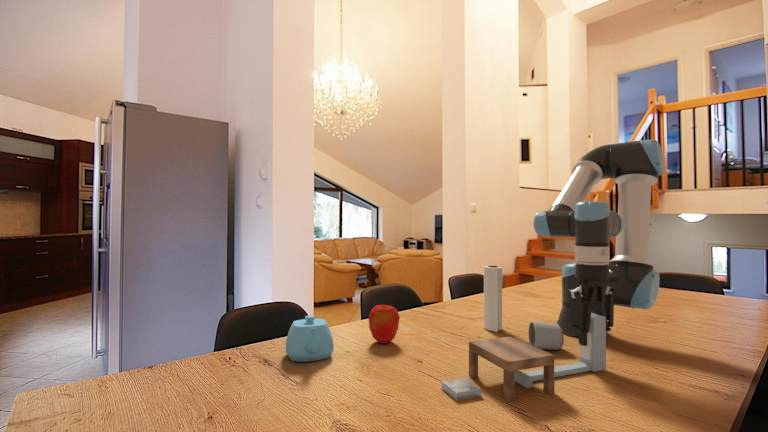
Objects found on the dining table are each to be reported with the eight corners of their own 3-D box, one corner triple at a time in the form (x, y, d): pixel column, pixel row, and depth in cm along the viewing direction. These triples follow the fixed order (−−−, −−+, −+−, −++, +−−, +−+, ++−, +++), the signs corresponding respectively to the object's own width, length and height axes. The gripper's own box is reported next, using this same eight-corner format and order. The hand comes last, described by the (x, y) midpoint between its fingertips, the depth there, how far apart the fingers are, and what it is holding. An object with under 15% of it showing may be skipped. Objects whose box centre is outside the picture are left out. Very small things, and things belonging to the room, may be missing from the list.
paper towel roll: (487, 325, 133) (487, 264, 134) (504, 328, 130) (504, 266, 130) (479, 330, 127) (479, 266, 128) (497, 333, 124) (497, 268, 124)
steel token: (465, 386, 84) (465, 377, 84) (481, 398, 78) (481, 388, 78) (441, 390, 82) (441, 381, 82) (456, 402, 76) (456, 392, 76)
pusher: (587, 361, 98) (586, 311, 98) (611, 371, 91) (611, 317, 92) (505, 375, 89) (505, 320, 89) (526, 388, 82) (526, 328, 83)
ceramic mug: (565, 353, 105) (565, 325, 105) (534, 352, 106) (534, 324, 106) (552, 342, 115) (552, 317, 116) (524, 341, 116) (524, 316, 116)
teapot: (288, 328, 90) (284, 311, 107) (288, 373, 90) (283, 349, 107) (340, 323, 94) (328, 308, 111) (340, 367, 94) (327, 344, 111)
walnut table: (510, 369, 93) (510, 336, 93) (554, 392, 80) (554, 355, 80) (468, 375, 89) (469, 341, 89) (508, 402, 76) (508, 362, 76)
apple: (363, 344, 111) (363, 303, 111) (375, 336, 119) (375, 298, 120) (393, 349, 107) (393, 306, 108) (403, 340, 116) (403, 300, 116)
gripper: (578, 266, 88) (579, 367, 87) (630, 263, 94) (631, 357, 93) (553, 262, 95) (554, 356, 95) (603, 260, 101) (604, 348, 100)
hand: (592, 356), depth 94 cm, fingers closed on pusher, 4 cm apart
